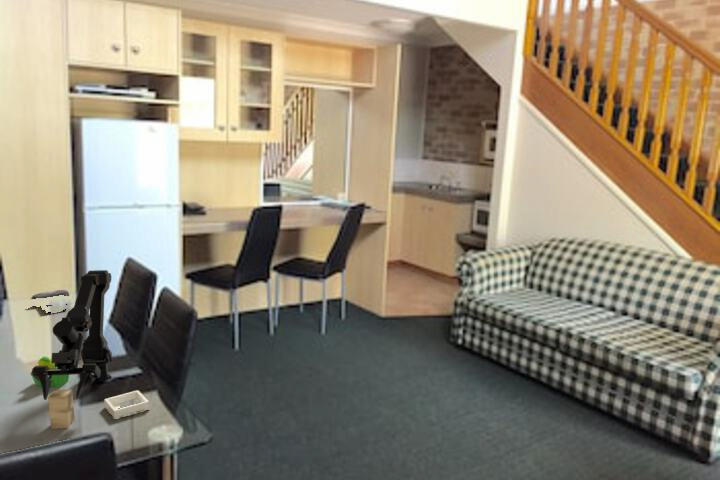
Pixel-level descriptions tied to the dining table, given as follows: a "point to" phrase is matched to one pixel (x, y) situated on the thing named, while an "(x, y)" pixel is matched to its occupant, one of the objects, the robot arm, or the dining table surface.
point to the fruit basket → (56, 379)
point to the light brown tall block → (61, 408)
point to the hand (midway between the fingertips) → (60, 398)
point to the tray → (114, 402)
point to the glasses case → (51, 294)
